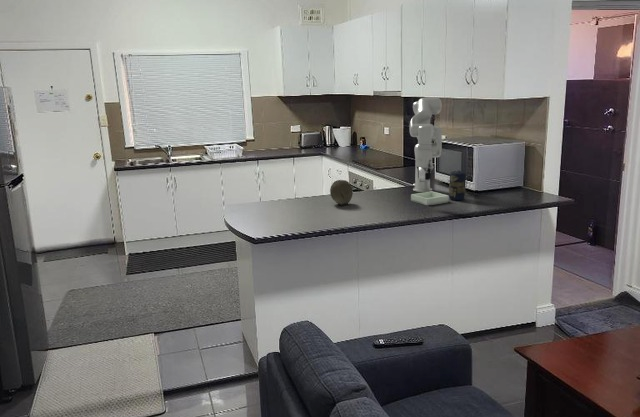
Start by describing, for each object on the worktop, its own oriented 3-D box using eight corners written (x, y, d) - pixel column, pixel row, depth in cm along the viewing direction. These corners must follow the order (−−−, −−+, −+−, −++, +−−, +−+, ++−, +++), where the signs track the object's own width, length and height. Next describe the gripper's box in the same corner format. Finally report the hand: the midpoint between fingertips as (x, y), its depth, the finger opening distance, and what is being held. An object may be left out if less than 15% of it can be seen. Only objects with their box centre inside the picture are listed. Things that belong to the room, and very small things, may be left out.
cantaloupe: (357, 203, 318) (357, 179, 315) (345, 207, 307) (344, 183, 304) (337, 200, 326) (337, 177, 323) (325, 205, 315) (324, 181, 311)
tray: (411, 200, 320) (411, 194, 319) (431, 197, 327) (431, 191, 326) (427, 205, 306) (427, 199, 305) (448, 202, 313) (448, 195, 312)
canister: (445, 199, 320) (446, 170, 316) (455, 197, 326) (456, 168, 322) (458, 201, 313) (459, 172, 309) (468, 199, 319) (469, 170, 314)
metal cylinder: (416, 180, 301) (416, 167, 299) (425, 179, 304) (425, 166, 302) (423, 182, 296) (423, 168, 294) (431, 181, 299) (431, 167, 297)
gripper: (410, 146, 301) (409, 177, 305) (428, 149, 286) (428, 181, 290) (420, 145, 304) (420, 175, 309) (439, 148, 289) (439, 180, 294)
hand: (424, 178), depth 300 cm, fingers closed on metal cylinder, 6 cm apart
